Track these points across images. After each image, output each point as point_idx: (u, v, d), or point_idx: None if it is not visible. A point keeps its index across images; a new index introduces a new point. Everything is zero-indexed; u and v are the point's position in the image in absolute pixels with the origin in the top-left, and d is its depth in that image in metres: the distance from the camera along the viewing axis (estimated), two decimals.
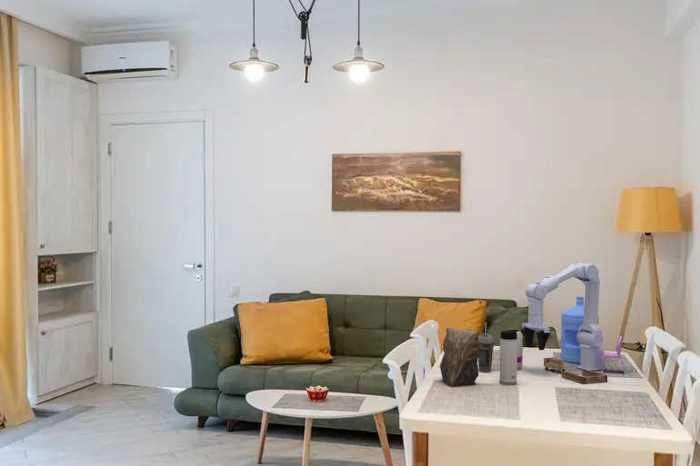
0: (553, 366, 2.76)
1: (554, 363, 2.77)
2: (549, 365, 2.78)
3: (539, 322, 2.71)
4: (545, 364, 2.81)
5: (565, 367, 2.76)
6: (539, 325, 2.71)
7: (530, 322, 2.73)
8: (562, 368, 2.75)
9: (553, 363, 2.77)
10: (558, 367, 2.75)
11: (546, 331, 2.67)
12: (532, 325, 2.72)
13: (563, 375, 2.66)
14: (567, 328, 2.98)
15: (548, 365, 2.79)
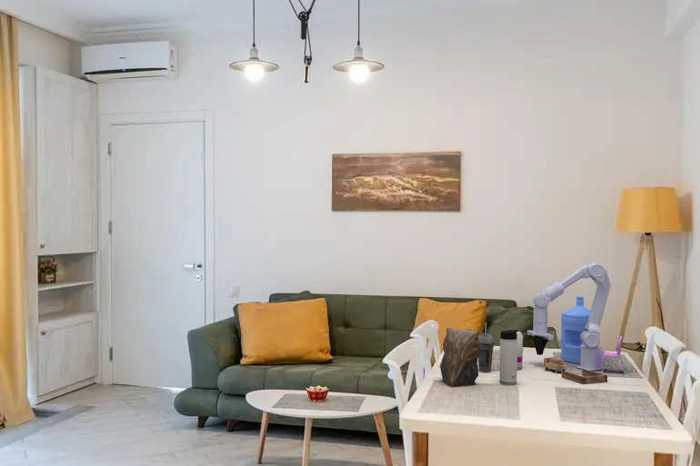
0: (553, 366, 2.76)
1: (554, 363, 2.77)
2: (549, 365, 2.78)
3: (543, 329, 2.85)
4: (545, 364, 2.81)
5: (565, 367, 2.76)
6: (543, 332, 2.85)
7: (535, 329, 2.86)
8: (562, 368, 2.75)
9: (553, 363, 2.77)
10: (558, 367, 2.75)
11: (550, 338, 2.81)
12: (537, 332, 2.85)
13: (563, 375, 2.66)
14: (567, 328, 2.98)
15: (548, 365, 2.79)
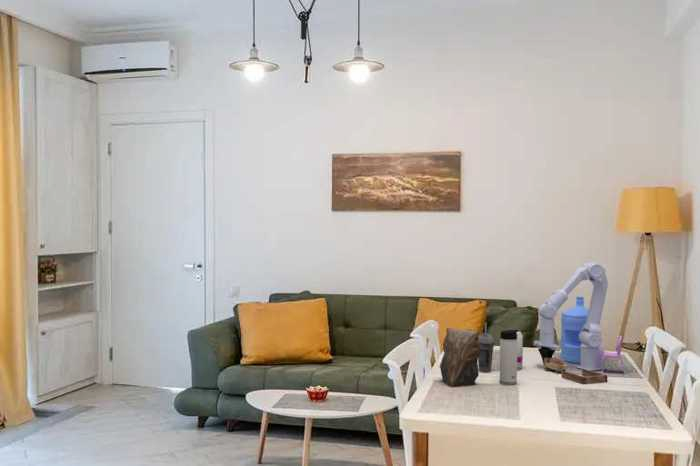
0: (553, 366, 2.76)
1: (554, 363, 2.76)
2: (549, 365, 2.78)
3: (550, 340, 2.81)
4: (545, 364, 2.80)
5: (565, 367, 2.76)
6: (550, 343, 2.81)
7: (541, 340, 2.82)
8: (563, 368, 2.75)
9: (553, 363, 2.77)
10: (558, 367, 2.74)
11: (557, 349, 2.77)
12: (543, 343, 2.81)
13: (563, 375, 2.66)
14: (567, 328, 2.98)
15: (548, 365, 2.79)
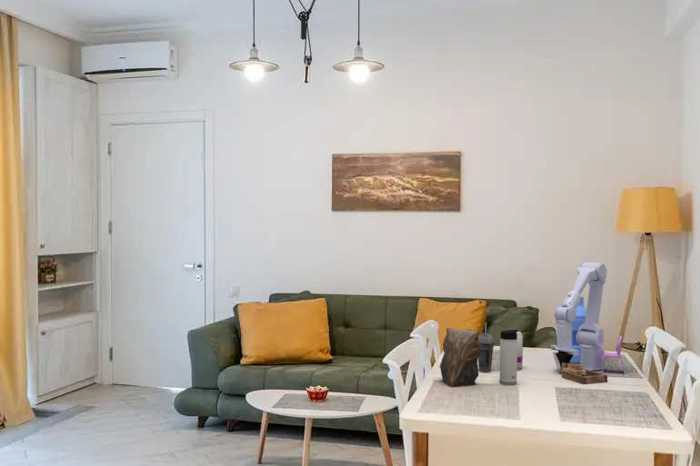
0: (572, 371, 2.66)
1: (573, 368, 2.67)
2: (567, 370, 2.68)
3: (568, 345, 2.71)
4: (563, 369, 2.71)
5: (584, 372, 2.66)
6: (568, 348, 2.71)
7: (559, 345, 2.72)
8: (582, 374, 2.65)
9: (572, 368, 2.67)
10: (577, 372, 2.64)
11: (576, 354, 2.67)
12: (561, 348, 2.72)
13: (563, 375, 2.66)
14: None
15: (566, 370, 2.69)
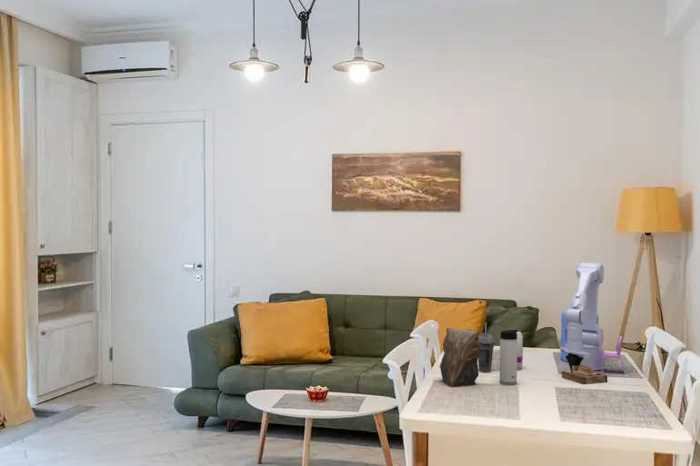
0: (582, 374, 2.61)
1: (583, 371, 2.61)
2: (578, 373, 2.63)
3: (578, 347, 2.66)
4: (573, 372, 2.65)
5: (595, 375, 2.61)
6: (578, 350, 2.66)
7: (569, 347, 2.67)
8: None
9: (582, 371, 2.62)
10: None
11: (586, 357, 2.62)
12: (571, 350, 2.66)
13: (563, 375, 2.66)
14: None
15: (577, 373, 2.64)
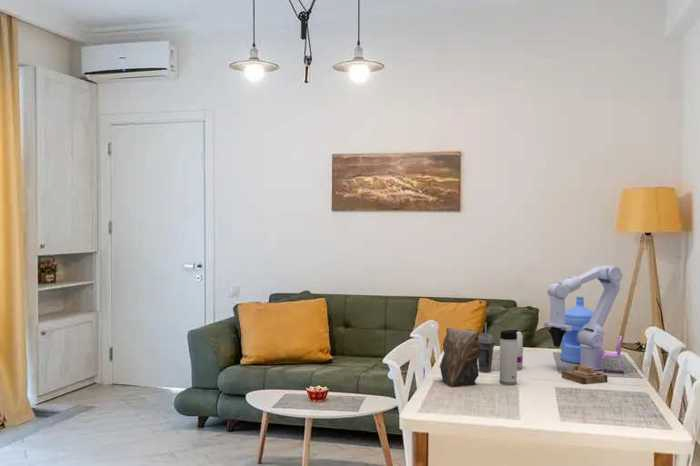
0: (582, 374, 2.61)
1: (583, 371, 2.61)
2: (578, 373, 2.63)
3: (561, 320, 2.77)
4: (573, 372, 2.65)
5: (595, 375, 2.61)
6: (561, 324, 2.77)
7: (552, 321, 2.79)
8: None
9: (582, 371, 2.62)
10: None
11: (568, 329, 2.73)
12: (554, 324, 2.78)
13: (563, 375, 2.66)
14: None
15: (577, 373, 2.64)
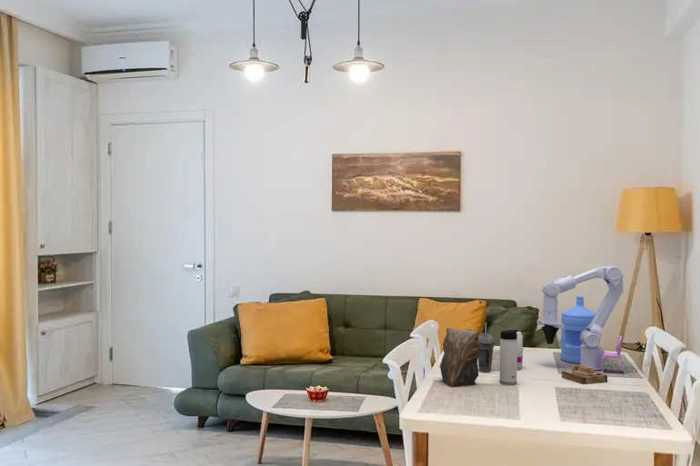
0: (582, 374, 2.61)
1: (583, 371, 2.61)
2: (578, 373, 2.63)
3: (553, 318, 2.84)
4: (573, 372, 2.65)
5: (595, 375, 2.61)
6: (554, 321, 2.84)
7: (545, 318, 2.85)
8: None
9: (582, 371, 2.62)
10: None
11: (560, 327, 2.80)
12: (547, 321, 2.84)
13: (563, 375, 2.66)
14: (567, 328, 2.98)
15: (577, 373, 2.64)
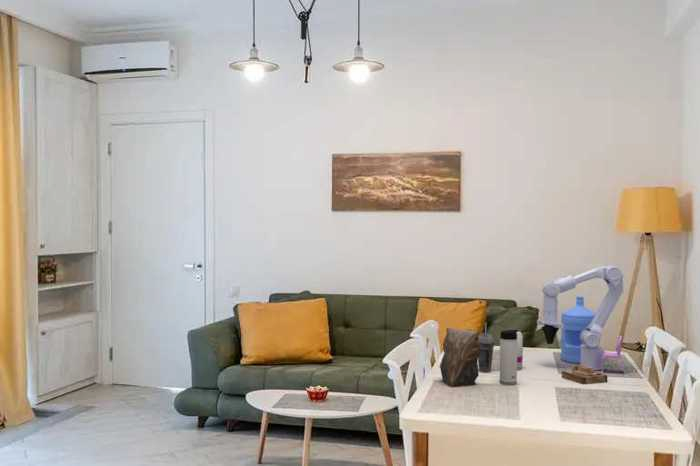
0: (582, 374, 2.61)
1: (583, 371, 2.61)
2: (578, 373, 2.63)
3: (553, 318, 2.84)
4: (573, 372, 2.65)
5: (595, 375, 2.61)
6: (554, 321, 2.84)
7: (545, 318, 2.85)
8: None
9: (582, 371, 2.62)
10: None
11: (560, 327, 2.80)
12: (547, 321, 2.84)
13: (563, 375, 2.66)
14: (567, 328, 2.98)
15: (577, 373, 2.64)
